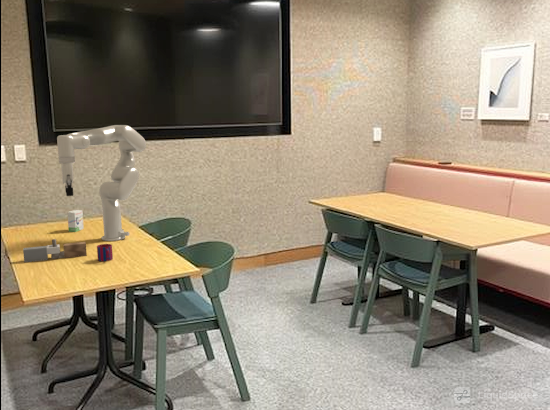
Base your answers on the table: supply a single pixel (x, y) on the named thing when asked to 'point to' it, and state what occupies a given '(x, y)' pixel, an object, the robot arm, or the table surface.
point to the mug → (104, 252)
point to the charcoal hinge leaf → (39, 253)
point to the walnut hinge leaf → (70, 250)
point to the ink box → (75, 220)
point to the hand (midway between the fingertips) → (69, 194)
